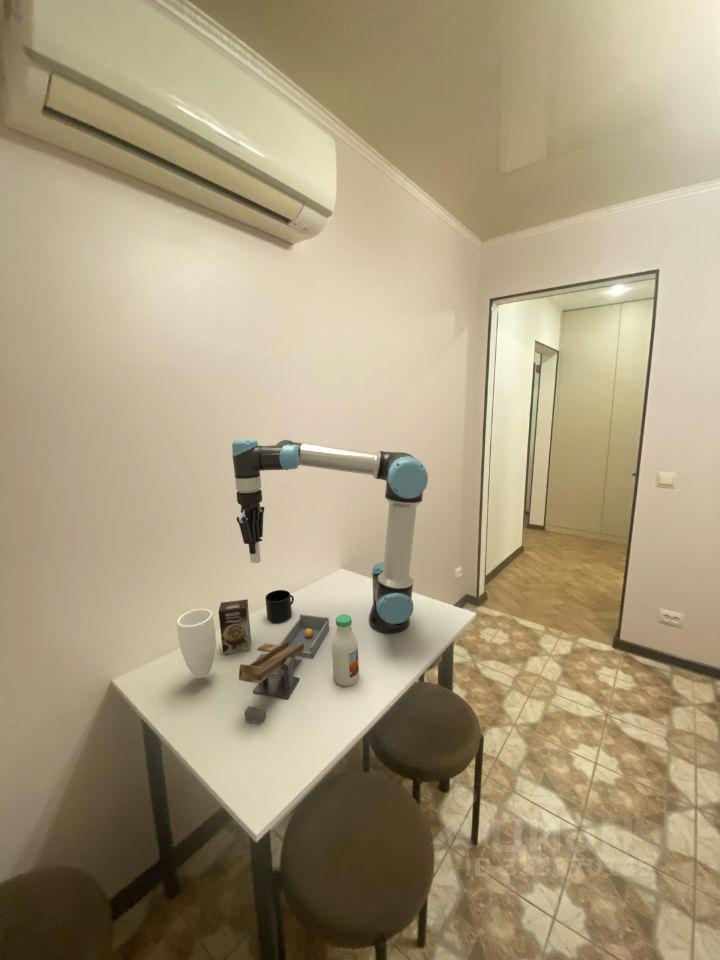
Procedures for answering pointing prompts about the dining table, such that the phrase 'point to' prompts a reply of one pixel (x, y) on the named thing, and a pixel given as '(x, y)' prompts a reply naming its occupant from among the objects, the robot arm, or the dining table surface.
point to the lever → (268, 662)
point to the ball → (308, 632)
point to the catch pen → (310, 644)
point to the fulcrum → (279, 682)
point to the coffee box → (235, 626)
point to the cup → (197, 640)
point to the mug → (279, 606)
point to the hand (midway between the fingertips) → (255, 561)
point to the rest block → (255, 714)
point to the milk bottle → (345, 652)
